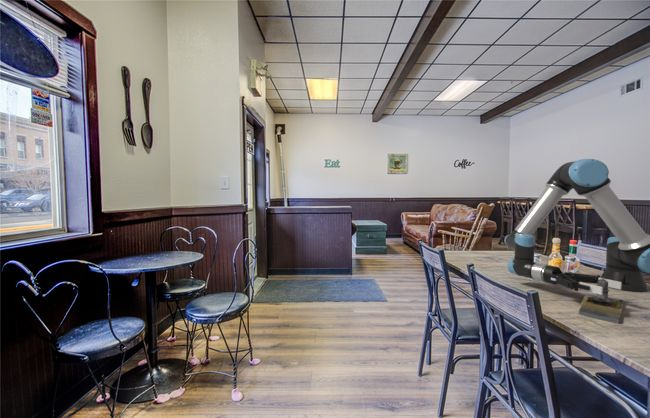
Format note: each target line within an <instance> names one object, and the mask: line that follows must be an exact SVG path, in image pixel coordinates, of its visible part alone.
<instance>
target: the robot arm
mask: <svg viewBox="0 0 650 418" xmlns="http://www.w3.org/2000/svg"><path fill="white" fill-rule="evenodd" d="M609 173H610V171H609V169H608V166H607V165H606V164H605V163H604V162H603V161H601V160H598V159H595V158H583V159H579V160H574V161H569V162H566V163H563V164H562V165H560V167H558V168H557V169H556V170H555V172H553V174H552V176H551V177H550V178H549V179H548V181H547V182H546V183H545V189H544V190H543V191H542V193H540V195H539V197H538V198H537V199H536V200H535V202H534V204H532V206H531V207H530V209H529V210H528V211H527V212H526V214H525V215H524V217H523V218H522V219H521V221H520V222H519V223H518V224H517V226H516V227H515V229H514V230H513V231H512V232H511V233H510V234H506V236H505V237H504V240H503V242H504V244H505V246H506V247H507V248H508V249H510V250H511V251H512V250H513V252H514V256H513V257H512V258H510V259H509V260H508V264H507V270H508V272H509V273H511V274H512V275H513V274H514V275H516V276H519V277H524V278H528V279H532V280H536V281H537V282H539V283H541V282H545V283H547V284H551V285H559V286H560V285H561V286H563V287H565V288H567V289H569V290H574V291H576V292H579V290H580V291H584V292H588V293H589V292H590V293H591V294H593V293H594V294H595V295H596V294H600V295H603V287H601V286H597V285H596V284H597V282H598V280H600V279H602V277H603V278H604V280H606V281H608V288H612V289H616V290H622V291H629V292H636V293H637V292H640V293H641V292H647V291H648V284H647V282H646V279H645V277H644V274H643V272H644V273H647V274H650V234H648V233H646V231H645V230H644V229H643V228H642V227H641V225H640V224H639V223H638V222H637V220H636V219H635V218H634V216H633V215H632V214H631V213H630V212H629V210H628V209H627V207H626V206H625V205H624V203H623V202H622V201H621V200H620V198H619V197H618V196H617V195H616V193H615V192H614V191H613V190H612V188H611V187H610V186H611V182H612V181H611V179H610V178H609ZM571 190H574V192H575V193H576V194H577V195H578V196H579V197H585V199H586V200H587V201H588V203H589V204H590V205H591V206H592V208H593V209H594V210H595V212H596V213H597V214H598V216H599V217H600V218H601V220H603V222H604V223H605V225H606V226H607V227H608V229H609V230H610V231H611V232H612V234H613V235H614V236H610V237H608V238H607V241H606V256H605V257H606V260H605V269H604V271H603V272H602V274H601V275H598V274H597V275H593V274H592V275H591V274H585V273H579V272H572V271H564V272H563V271H562V269H561V268H560V267H559V266H555V265H549V264H547V263H546V264H545V263H540V262H535V248H536V247H535V246H536V239H535V236H534V233H535V232H536V231H537V229H538V228H539V227H540V226H541V224H542V223H543V222H544V220H545V219H546V218H547V217H548V215H549V214H550V213H551V212H552V210H553V209H554V208H555V206H557V204H558V202H560V200H561V199H562V198H563V196H566V195H568V194H569V193H570V192H571Z"/></svg>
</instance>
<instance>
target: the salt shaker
mask: <svg viewBox="0 0 650 418" xmlns="http://www.w3.org/2000/svg"><path fill="white" fill-rule="evenodd" d="M596 286H601V287H603V295H600V294H596V293H595V295H596V296H594V297H591V298H592V301H593V303H594V304H599V305H604V306H611V304H612V302H613V301H612V300H610V299H609V298H610V297H609V292H610V289H609V287H608V281H606V280H604V278H603V277H602V279H600V280H598V282H597V285H596Z"/></svg>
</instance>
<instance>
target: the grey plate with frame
mask: <svg viewBox="0 0 650 418" xmlns="http://www.w3.org/2000/svg"><path fill="white" fill-rule="evenodd" d="M594 296H596V294H593V293H591V294H590V293H588V294H587V295H584V297H583V299H582V300H581V304H580V308H579V310H578V315H579V314H580V316H583V315H584V317H589V318H592V319H597V320H601V321H606V322H609V323H613V324H618V325H619V323H620V318H621V317H622V313H623V302H624V301H623V299H617V298H612V297H608V298H609V299H610V300H612V301H613V302H612V304H611V306H604V305H599V304H594V303H593V301H592V298H591V297H594Z"/></svg>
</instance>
